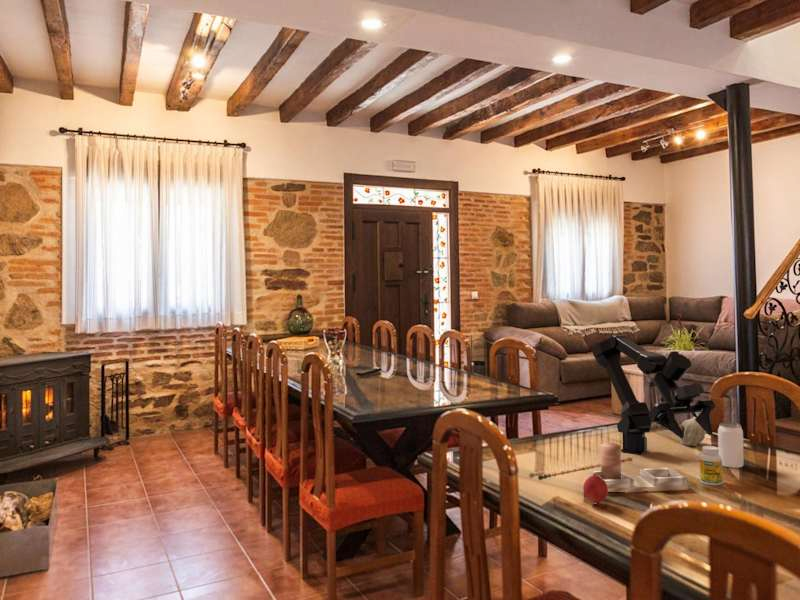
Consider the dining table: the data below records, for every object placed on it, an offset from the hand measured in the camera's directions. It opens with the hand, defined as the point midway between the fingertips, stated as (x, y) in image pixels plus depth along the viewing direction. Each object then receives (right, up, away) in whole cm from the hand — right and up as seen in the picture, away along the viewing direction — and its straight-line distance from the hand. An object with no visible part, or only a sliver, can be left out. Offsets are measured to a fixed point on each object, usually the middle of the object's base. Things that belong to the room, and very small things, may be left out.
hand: (697, 436), depth 169 cm
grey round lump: (+15, -11, +34) cm, 38 cm away
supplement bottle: (+2, -12, -5) cm, 13 cm away
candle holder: (-19, -12, -6) cm, 23 cm away
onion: (-34, -13, -18) cm, 41 cm away
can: (+15, -11, +10) cm, 21 cm away
